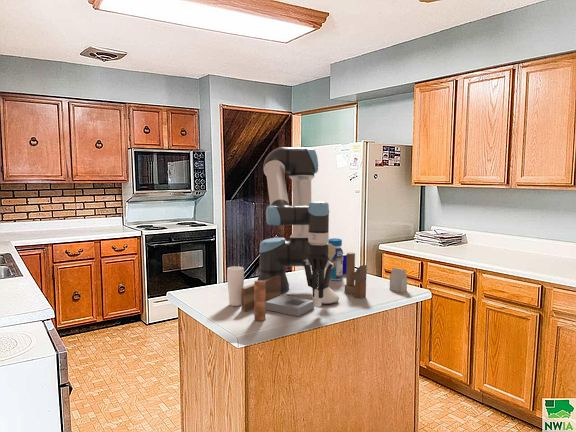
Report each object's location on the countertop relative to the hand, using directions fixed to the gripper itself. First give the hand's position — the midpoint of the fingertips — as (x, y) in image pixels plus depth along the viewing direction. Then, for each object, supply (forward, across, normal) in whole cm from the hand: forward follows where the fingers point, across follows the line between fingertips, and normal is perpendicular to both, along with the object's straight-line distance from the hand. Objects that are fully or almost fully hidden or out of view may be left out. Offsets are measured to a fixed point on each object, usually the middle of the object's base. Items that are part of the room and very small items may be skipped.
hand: (317, 305), depth 167 cm
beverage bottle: (+3, -21, +54) cm, 58 cm away
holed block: (+4, -13, 0) cm, 13 cm away
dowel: (+4, -15, -16) cm, 22 cm away
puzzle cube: (+3, -27, +67) cm, 73 cm away
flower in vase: (+4, -5, +16) cm, 18 cm away
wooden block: (+4, 0, +33) cm, 33 cm away
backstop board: (+3, -26, 0) cm, 27 cm away
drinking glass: (+4, -34, -7) cm, 35 cm away
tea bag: (+3, +13, +51) cm, 53 cm away
